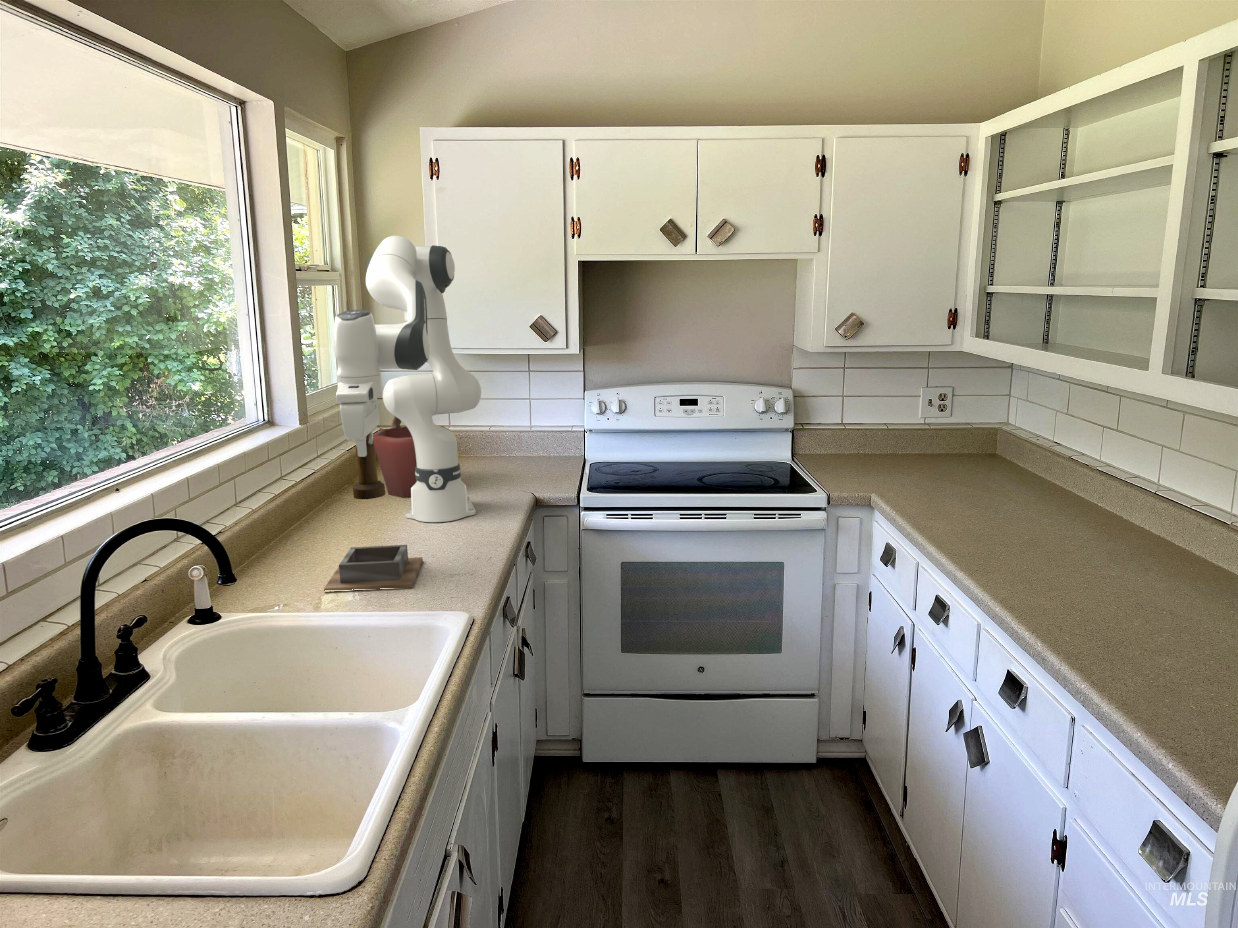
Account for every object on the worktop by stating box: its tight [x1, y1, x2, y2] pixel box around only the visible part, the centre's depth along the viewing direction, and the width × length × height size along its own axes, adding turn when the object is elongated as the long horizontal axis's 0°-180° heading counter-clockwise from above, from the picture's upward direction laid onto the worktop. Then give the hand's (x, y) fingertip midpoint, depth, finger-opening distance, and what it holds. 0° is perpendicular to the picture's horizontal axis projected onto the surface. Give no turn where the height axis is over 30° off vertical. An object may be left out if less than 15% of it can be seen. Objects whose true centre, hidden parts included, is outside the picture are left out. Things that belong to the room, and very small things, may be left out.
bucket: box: [373, 415, 452, 499], centre depth 266 cm, size 24×22×25 cm
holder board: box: [323, 544, 424, 592], centre depth 192 cm, size 18×18×5 cm
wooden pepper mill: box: [352, 434, 386, 500], centre depth 187 cm, size 7×6×18 cm
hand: (365, 453), depth 187 cm, fingers closed on wooden pepper mill, 4 cm apart
